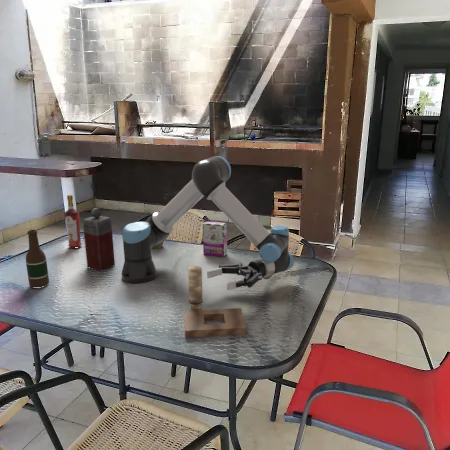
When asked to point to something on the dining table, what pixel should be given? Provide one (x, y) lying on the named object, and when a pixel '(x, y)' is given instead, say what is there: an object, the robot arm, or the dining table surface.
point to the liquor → (72, 224)
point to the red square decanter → (98, 241)
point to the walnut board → (230, 326)
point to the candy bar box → (215, 238)
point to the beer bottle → (36, 262)
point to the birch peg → (195, 287)
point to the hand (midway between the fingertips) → (217, 280)
